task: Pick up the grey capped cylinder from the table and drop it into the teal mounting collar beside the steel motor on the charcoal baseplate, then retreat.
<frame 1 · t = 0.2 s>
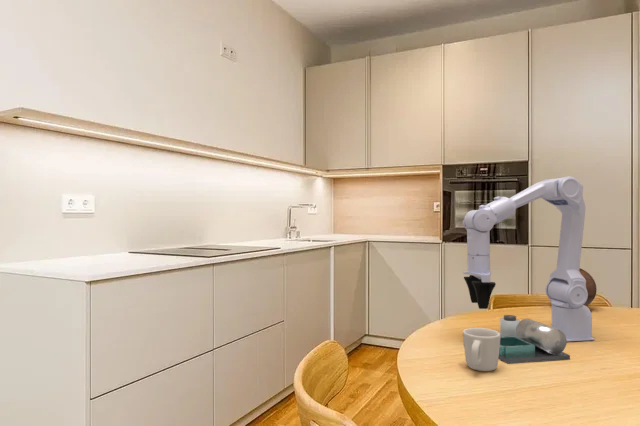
hand: (479, 305, 120), 10 cm above the table, fingers open, 7 cm apart
grey capped cylinder: (510, 337, 124), on the table
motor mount: (521, 352, 110), on the table
wooden sphere: (572, 309, 160), on the table
cup: (480, 370, 99), on the table
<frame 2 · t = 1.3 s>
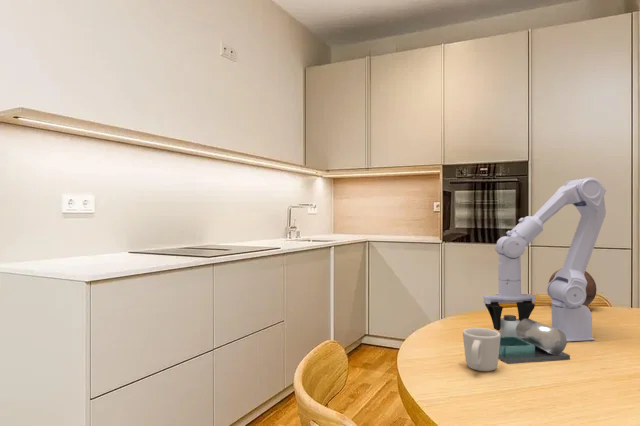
hand: (509, 328, 124), 2 cm above the table, fingers open, 7 cm apart
nothing on the table moved.
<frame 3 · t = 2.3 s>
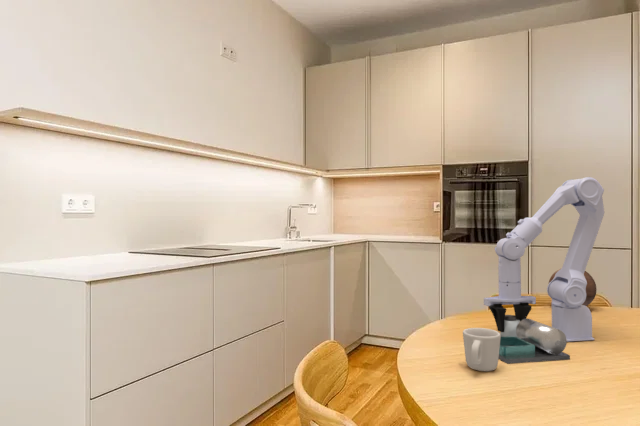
hand: (510, 330, 124), 2 cm above the table, fingers closed on grey capped cylinder, 5 cm apart
grey capped cylinder: (510, 337, 124), on the table, touching gripper
everything else where it was.
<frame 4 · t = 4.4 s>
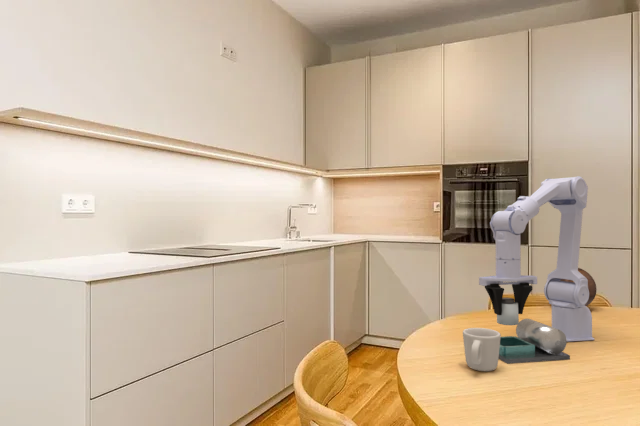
hand: (508, 313, 111), 9 cm above the table, fingers closed on grey capped cylinder, 5 cm apart
grey capped cylinder: (507, 322, 112), point 7 cm above the table, touching gripper
everything else where it was.
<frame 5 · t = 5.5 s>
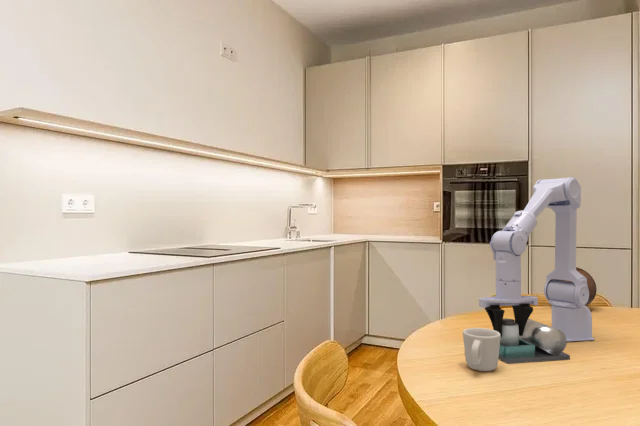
hand: (508, 335, 110), 5 cm above the table, fingers closed on grey capped cylinder, 5 cm apart
grey capped cylinder: (508, 344, 110), point 2 cm above the table, touching gripper
everything else where it was.
when the fingers open (4 cm above the table, at t = 6.4 s): grey capped cylinder drops 1 cm, resting on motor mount.
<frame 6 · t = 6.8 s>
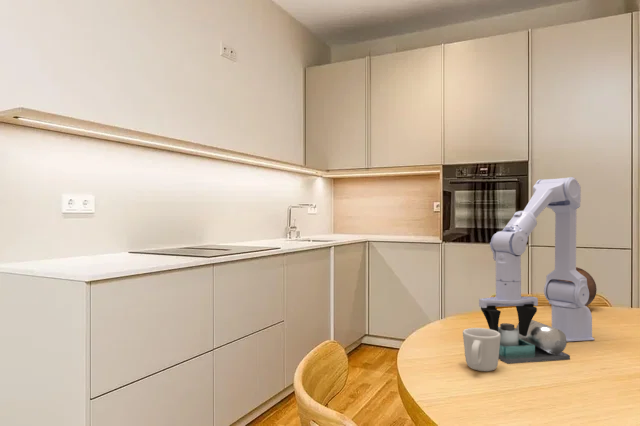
hand: (508, 335, 110), 4 cm above the table, fingers open, 7 cm apart
grey capped cylinder: (507, 349, 110), point 1 cm above the table, touching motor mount
everything else where it was.
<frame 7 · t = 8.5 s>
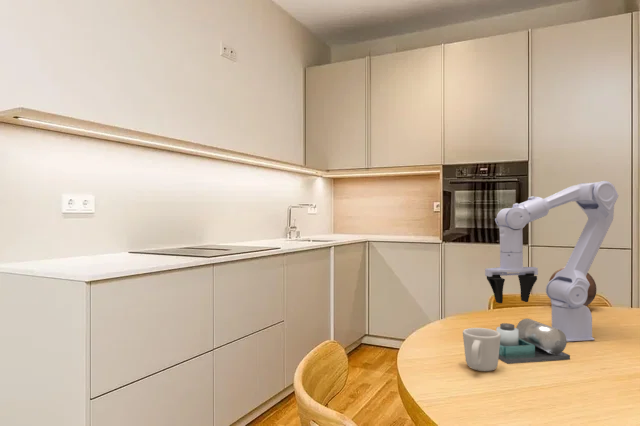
hand: (511, 302, 122), 10 cm above the table, fingers open, 7 cm apart
nothing on the table moved.
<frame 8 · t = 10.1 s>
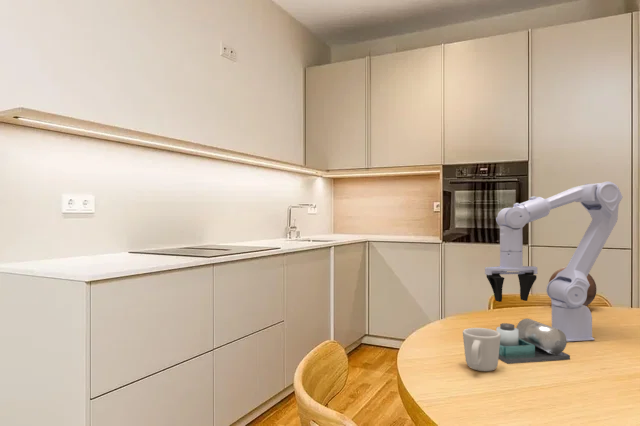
hand: (511, 300, 123), 10 cm above the table, fingers open, 7 cm apart
nothing on the table moved.
at the end: grey capped cylinder 0.4 cm from the target spot on the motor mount, point 1.0 cm above the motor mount's base; grey capped cylinder tilted 0°; the gripper is holding nothing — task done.
